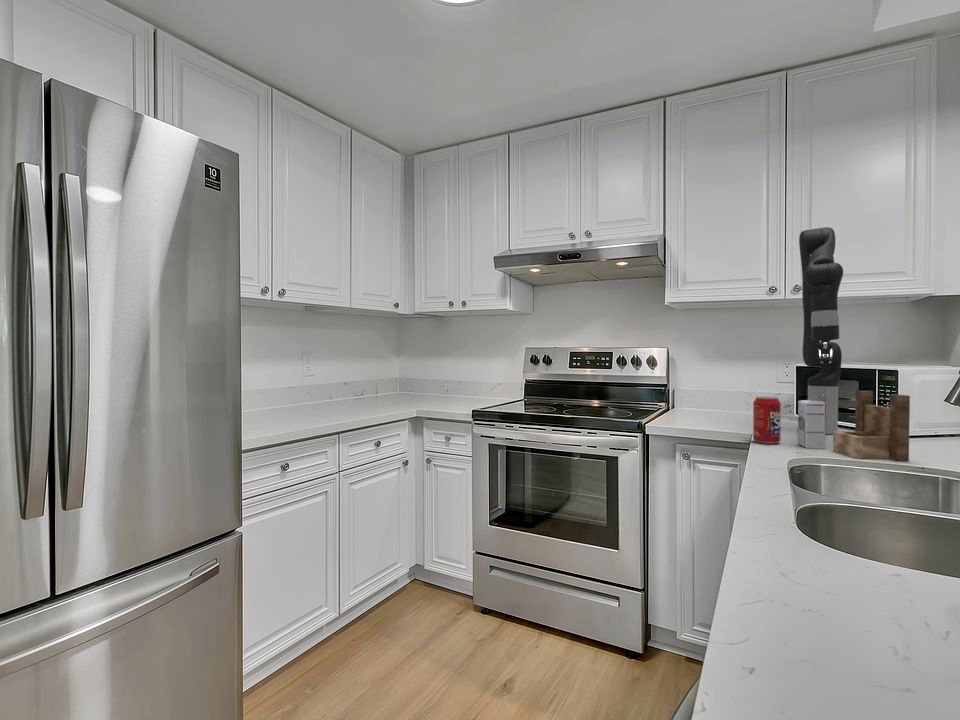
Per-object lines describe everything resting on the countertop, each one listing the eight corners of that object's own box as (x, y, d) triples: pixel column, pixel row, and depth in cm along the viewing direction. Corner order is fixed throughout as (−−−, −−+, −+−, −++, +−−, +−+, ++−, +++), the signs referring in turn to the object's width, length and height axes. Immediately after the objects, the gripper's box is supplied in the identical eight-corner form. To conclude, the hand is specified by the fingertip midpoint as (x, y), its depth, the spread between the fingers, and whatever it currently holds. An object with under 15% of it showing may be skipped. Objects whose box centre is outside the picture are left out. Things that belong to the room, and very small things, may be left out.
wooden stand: (826, 449, 157) (826, 390, 156) (865, 449, 156) (866, 390, 156) (865, 461, 140) (865, 395, 139) (908, 461, 139) (909, 395, 139)
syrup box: (825, 449, 157) (826, 401, 157) (804, 448, 158) (805, 401, 158) (817, 445, 163) (818, 400, 162) (797, 444, 164) (797, 399, 163)
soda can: (749, 440, 172) (750, 395, 172) (775, 440, 171) (775, 396, 171) (757, 444, 165) (757, 398, 164) (784, 445, 163) (784, 398, 163)
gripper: (811, 327, 173) (813, 375, 173) (810, 324, 162) (811, 375, 161) (838, 326, 169) (840, 375, 168) (839, 322, 157) (840, 375, 157)
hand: (826, 375), depth 165 cm, fingers open, 8 cm apart
